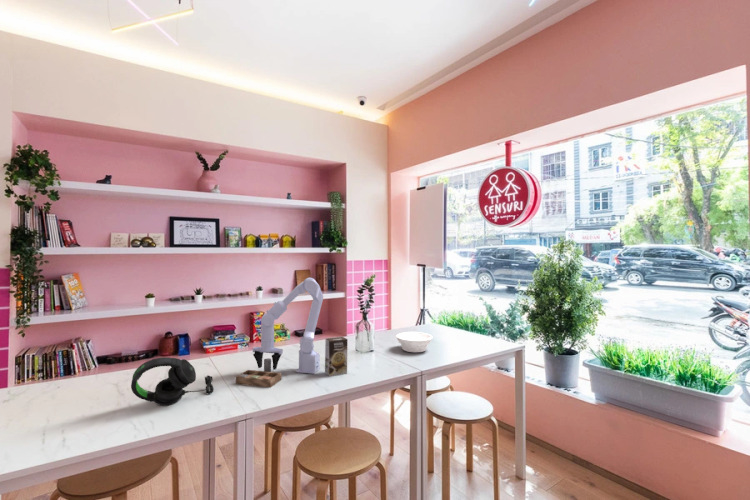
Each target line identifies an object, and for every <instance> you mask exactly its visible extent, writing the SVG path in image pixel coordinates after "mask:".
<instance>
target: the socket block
mask: <svg viewBox="0 0 750 500" xmlns="http://www.w3.org/2000/svg"><path fill="white" fill-rule="evenodd" d="M281 380H282V373H281V372H273V371H271V372H266V371H264V370H263V371H262V370H255V369H254V370H252V369H247V370H245V371H244V372H242V373H240V374H238V375H236V376H235V385H242V386H244V385H245V386H253V387H264V388H272V387H273V386H275V385H276V384H278V383H279V382H281Z"/></svg>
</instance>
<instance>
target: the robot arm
mask: <svg viewBox="0 0 750 500" xmlns="http://www.w3.org/2000/svg"><path fill="white" fill-rule="evenodd" d="M306 292H307V293H308V294H309V295H310V296H311V298H312V302H311V305H310V309H309V314H308V317H307V322H306V324H305V325H306V326H305V330H304V332H303V335H302V337H300V340H299V348H300V349H299V350H298V368H297V369H296V370H295V373H303V374H304V373H305V374H316V373H317V372H318V371H319V370H320V369H321V366H320V365H321V364H320V353H319V352H316V351H315V349H314V347H315V346H314V339H315V332H316V328H317V324H318V320H319V316H320V313H321V309H322V304H323V301H324V294H323V293H322V289H321V286H320V284H319V283H318V282H317V281H316V280H315V278H313V277H307V278H305V279H304V280H303V281H301V282H300V283H299V284H297V285H296V286H295V287H294V288H293V290H291V291H290V292H289V294H287V295H286V297H285V298H284V299H283V300H278V301H277V302H276V301H275V302H274V303H273V305H272V306H271V307H270V308H269V310H268V309H267V310H266V311H265V313H264V314H263V315H262V317H261V319H260V323H261V330H260V331H261V332H260V333H261V335H260V337H261V338H260V339H261V340H260V341H261V342H260V343H261V344H260V346H258V347H257V346H254V347H252V353H253V354H252V355H253V357H254V359H255V361H256V364H257V368H258V369H262V367H263V359H264V357H263V356H264V353H265V354H271V361H272V370H273V371H274V370H277V368H278V363H279V361H280V358H281V356H282V354H283V352H284V351H283V350H284V349H282V348H278V347H275V328H274V326H275V325H274V324H275V321H276V320H278V319H279V318H280V317H281V316H282V315H283V314H284V313H285V312H286V311H287V310H288V305H289V304H291V303H292V302H293V301H294V300H295V299H296V298H297V297H298V296H299V295H301V294H306Z"/></svg>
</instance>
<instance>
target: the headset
mask: <svg viewBox="0 0 750 500" xmlns="http://www.w3.org/2000/svg"><path fill="white" fill-rule="evenodd" d="M159 367H160V368H161V367H170V368H169V369H168V371H167V376H168V377H167V378H165V379H162V380H160V381H159V382H158V383H157V385H156V386H155V388H154V391H151V390H147V389H145V388H143V387H141V386H140V384H139V383H138V381H139V379H140V378H141V377H142V376H143V374H145V372H148V371H149V370H151V369H155V368H159ZM196 373H197V372H196V370H195V367H194V366H193V365H192V364H191V363H190V362H189V360H187V359H185V358H183V359H180V358H177V357H166V356H165V357H157V358H153V359H150V360H147V361H146V362H144V363H142V364H140V366H138V367H137V368H136V369H135V370H134V372H133V374H132V378H131V384H130V389H131V391H132V393H133V394H134V395H135V396H136V397H137V398H139V399H141V400H143V401H146V402H150V403H155V404H156V405H158V406H162V407H169V406H171V405H174V404H176V403H178V402H179V401H180V400H181V399H182V397H183V396H185V394H188V393H199V392H204V391H205V394H207V395H210V394H213V393H214V390H215V389H214V386H213V384H212V383H213V381H214V379H213V376H210V375H209V374H207V376H204V384H205V385H206V386H205V389H202V390H187V391H186V390H185V389H184V388H186V387H188V385H191V384H193V383H195V381H196V379H197V374H196Z"/></svg>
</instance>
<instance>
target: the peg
mask: <svg viewBox="0 0 750 500" xmlns="http://www.w3.org/2000/svg"><path fill="white" fill-rule="evenodd" d="M263 371H266V372H272V358H270V357H269V358H263Z"/></svg>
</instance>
